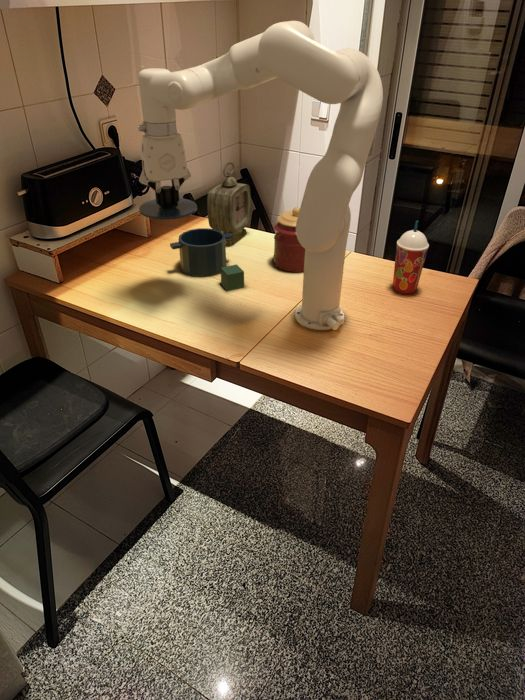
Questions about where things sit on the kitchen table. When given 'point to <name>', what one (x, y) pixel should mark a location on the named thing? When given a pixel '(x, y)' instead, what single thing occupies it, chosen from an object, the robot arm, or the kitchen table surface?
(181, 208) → the lid
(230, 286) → the block
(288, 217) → the kitchen canister
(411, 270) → the smoothie
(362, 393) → the kitchen table surface
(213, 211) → the tabletop clock
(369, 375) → the kitchen table surface
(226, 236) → the pot
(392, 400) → the kitchen table surface
